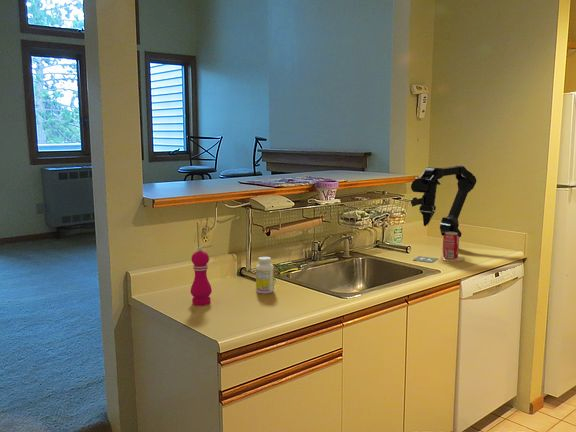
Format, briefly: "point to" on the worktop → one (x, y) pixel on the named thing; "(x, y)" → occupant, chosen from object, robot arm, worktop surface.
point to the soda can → (450, 245)
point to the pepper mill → (200, 279)
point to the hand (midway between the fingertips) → (425, 225)
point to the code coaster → (425, 259)
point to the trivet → (451, 259)
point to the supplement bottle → (264, 276)
